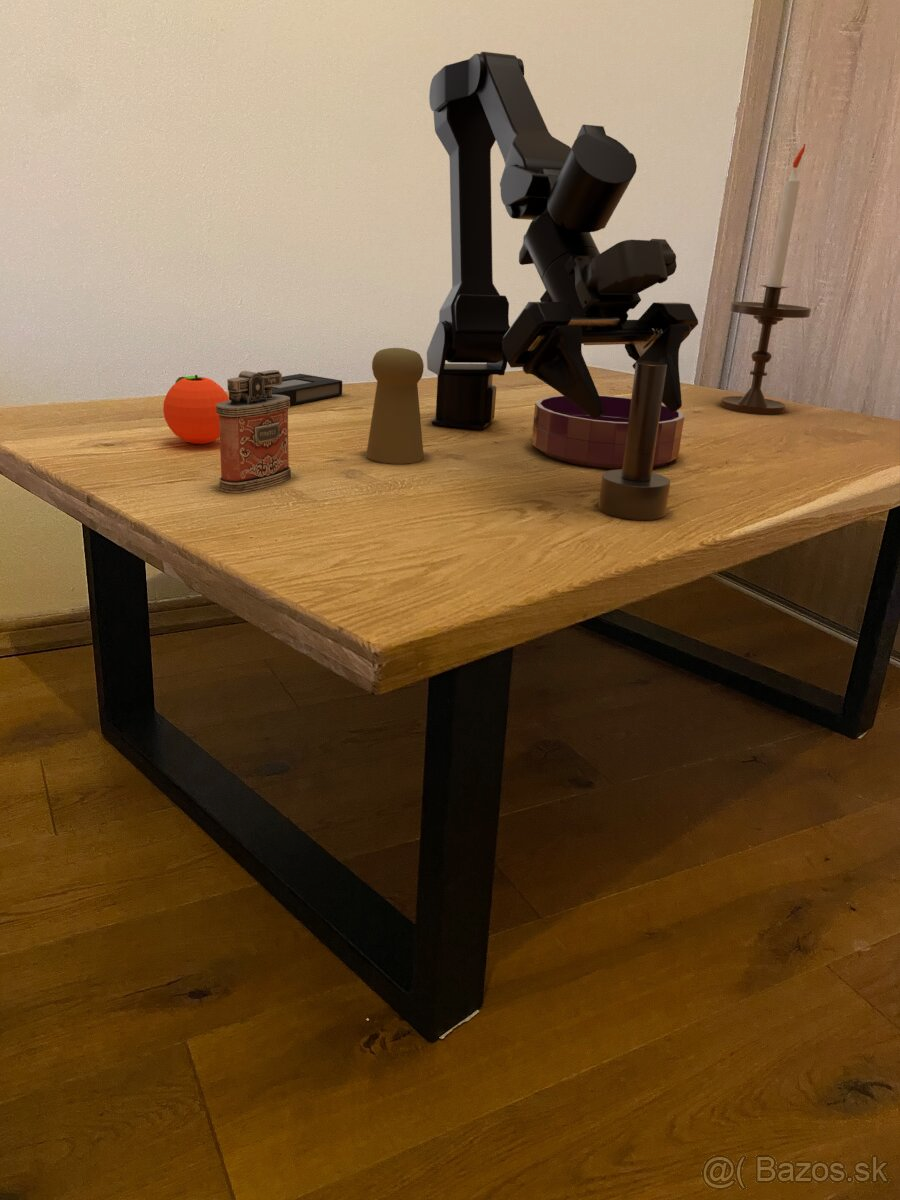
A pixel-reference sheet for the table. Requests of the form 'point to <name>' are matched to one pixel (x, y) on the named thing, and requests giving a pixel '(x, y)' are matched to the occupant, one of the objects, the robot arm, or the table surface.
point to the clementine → (194, 409)
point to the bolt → (639, 453)
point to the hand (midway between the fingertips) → (639, 412)
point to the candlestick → (770, 307)
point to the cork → (396, 408)
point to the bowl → (598, 432)
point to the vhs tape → (307, 388)
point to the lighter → (253, 433)
